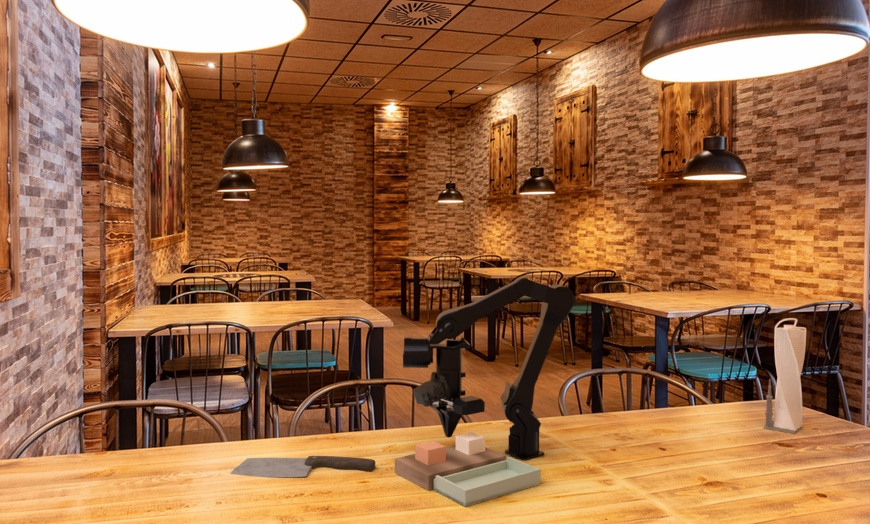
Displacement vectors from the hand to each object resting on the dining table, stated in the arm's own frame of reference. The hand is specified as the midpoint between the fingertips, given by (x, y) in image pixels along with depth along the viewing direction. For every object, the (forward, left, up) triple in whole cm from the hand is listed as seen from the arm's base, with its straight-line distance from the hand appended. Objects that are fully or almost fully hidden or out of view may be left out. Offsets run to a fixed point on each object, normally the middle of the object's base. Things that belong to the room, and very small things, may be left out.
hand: (448, 436), depth 149 cm
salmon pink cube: (+10, +8, -1) cm, 13 cm away
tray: (+5, +20, -4) cm, 21 cm away
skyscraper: (-83, +34, -4) cm, 90 cm away
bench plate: (+6, +9, -4) cm, 11 cm away
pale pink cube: (0, +8, -1) cm, 8 cm away
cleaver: (+30, -10, -5) cm, 32 cm away
